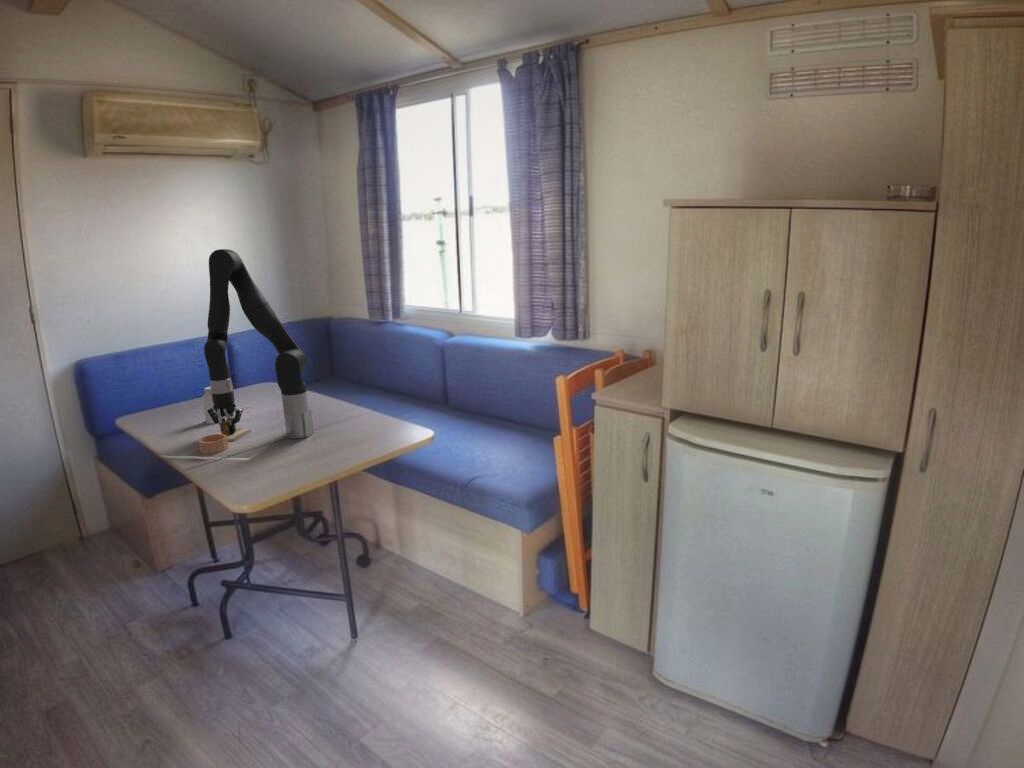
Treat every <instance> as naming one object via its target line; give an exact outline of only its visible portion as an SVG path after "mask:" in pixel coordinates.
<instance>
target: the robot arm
mask: <svg viewBox="0 0 1024 768" xmlns="http://www.w3.org/2000/svg"><path fill="white" fill-rule="evenodd" d="M208 273H209V275H208V276H209V308H208V316H207V329H208V331H207V332H208V333H207V338H206V340H207V341H206V342H205V344H204V346H203V352H204V353H203V354H204V358H205V361H206V364H207V367H208V375H209V387H210V388H211V394H212V400H213V404H214V406H213V408H211V409H209V410H208V413H209V415H210V416H211V418H212V420H213V421H214V423H216V424H217V425H219V427H220V430H221V426H220V423H222V422H224V421H225V418H226V419H227V420H228V423H229V430H230V434H234V433H235V432H236V429H237V428H236V425H237V423H239V422H240V420H241V417H242V414H243V411H244V409H243V408H242V407H240V408H239V407H237V405H236V404H235V393H234V386H233V382H232V381H233V380H232V378H231V371H230V366H229V364H228V363H227V356H226V351H227V348H228V339H229V338H228V333H229V332H228V329H229V325H230V316H231V306H230V305H231V303H230V297H229V285H230V284H231V285H232V286H233V288H234V290H235V292H236V294H237V297H238V301H239V303H240V307H241V309H242V312H243V313H244V315H245V317H246V319H247V320H248V321H249V322H250V324H251V326H253V328H254V329H255V331H257V332H258V333H259V334H260V335H262V336H263V337H264V338H266V339H267V340H268V341H269V342H270V343H271V344H272V345H273V346H274V348H275V350H276V351H277V353H278V355H277V356H276V359H275V362H274V363H275V364H274V367H275V369H274V370H275V374H276V381H277V386H278V388H279V389H280V394H281V395H280V396H281V401H282V411H283V419H284V426H285V433H286V437H287V439H303V438H308V437H309V436H311V435H312V434H313V433H314V432H315V431H314V421H313V414H312V409H310V407H309V405H310V404H309V398H308V389H307V384H306V383H305V382H304V381H303V378H302V372H301V371H303V370H305V368H306V365H307V359H306V358H307V357H306V355H305V353H304V351H302V349H301V348H300V347H299V346H298V345H297V343H296V342H295V341H294V340H293V338H292V337H291V336H290V335H289V333H288V332H287V330H286V328H285V326H284V325H283V324H282V322H281V321H280V319H279V317H278V316H277V314H276V313H275V310H274V309H273V307H272V306H271V305H270V303H269V302H268V300H267V298H265V296H264V295H263V293H262V291H261V290H260V289H259V287H258V286H257V284H256V283H255V282H254V280H253V278H252V277H251V275H250V273H249V271H248V269H247V267H246V265H245V263H244V261H243V259H242V258H241V255H239V254H238V252H236V251H234V250H232V249H227V248H224V249H222V248H221V249H216V250H214V251H213V252H211V253H210V255H209V258H208ZM216 412H217V413H218V414H217V413H216Z"/></svg>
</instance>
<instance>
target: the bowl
mask: <svg viewBox="0 0 1024 768" xmlns="http://www.w3.org/2000/svg"><path fill="white" fill-rule="evenodd" d="M198 446H199V451H200V453H201V454H203V455H214V454H218V453H219V454H220V453H221V452H225V451H227V450H228V449H229V442H228V441H227V435H224V434H215V433H213V434H209V435H205V436H202V437H200V438H199V439H198Z"/></svg>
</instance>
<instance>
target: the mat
mask: <svg viewBox="0 0 1024 768" xmlns="http://www.w3.org/2000/svg"><path fill="white" fill-rule="evenodd" d="M251 432H252V430H250V432H248V433H246V434H245V435H243V436H242V437H240V438H238V439H237V440H235V441H228V443H229V442H231V443H235V442H237V441H238V440H240V439H242V438H243V437H245V436H246V435H249V434H250V433H251Z"/></svg>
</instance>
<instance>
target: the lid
mask: <svg viewBox="0 0 1024 768" xmlns="http://www.w3.org/2000/svg"><path fill="white" fill-rule="evenodd" d="M220 426H221V429H220V430H219V431H217V432H215V433H214V434H224V435H227V441H235V440H237V439H238V438H240V437H242V436H243V435H245V434H246V433H248V432H250V431H251V429H250V428H249V429H248V428H236V432H235V433H234V434H230V430H229V423H228V420H225V421H224V422H222V423H220V425H219V427H220ZM250 433H251V432H250ZM248 434H249V433H248ZM246 435H247V434H246ZM246 435H245V436H246ZM243 437H244V436H243ZM243 437H242V438H243ZM240 439H241V438H240ZM238 440H239V439H238ZM238 440H237V441H238ZM235 442H236V441H235Z"/></svg>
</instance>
